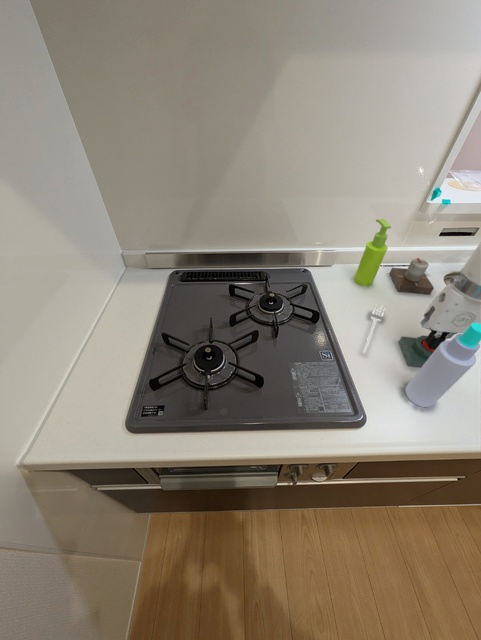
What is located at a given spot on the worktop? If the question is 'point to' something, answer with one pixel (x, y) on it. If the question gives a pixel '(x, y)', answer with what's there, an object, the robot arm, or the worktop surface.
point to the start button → (427, 346)
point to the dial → (416, 270)
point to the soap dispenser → (372, 256)
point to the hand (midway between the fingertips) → (431, 344)
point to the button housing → (414, 351)
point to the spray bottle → (444, 367)
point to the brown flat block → (410, 282)
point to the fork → (373, 326)
